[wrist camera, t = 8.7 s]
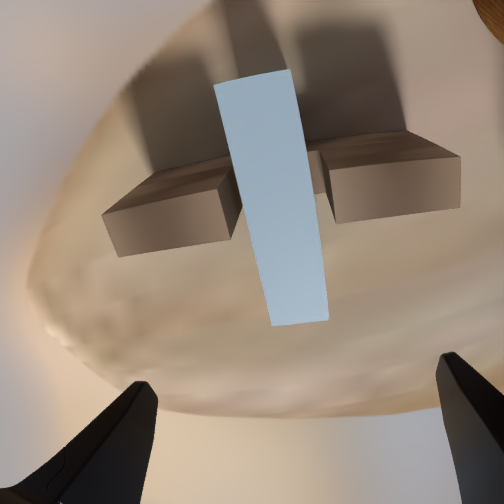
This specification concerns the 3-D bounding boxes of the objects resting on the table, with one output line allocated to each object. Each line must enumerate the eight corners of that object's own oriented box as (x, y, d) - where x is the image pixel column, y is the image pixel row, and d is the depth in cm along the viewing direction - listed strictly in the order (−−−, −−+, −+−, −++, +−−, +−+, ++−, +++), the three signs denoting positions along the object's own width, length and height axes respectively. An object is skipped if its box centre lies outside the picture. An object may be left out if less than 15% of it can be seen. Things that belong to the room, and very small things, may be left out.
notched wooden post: (407, 130, 15) (460, 156, 9) (409, 166, 16) (459, 207, 10) (154, 173, 17) (101, 215, 12) (164, 205, 18) (118, 257, 13)
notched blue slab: (288, 75, 14) (290, 68, 9) (319, 251, 19) (329, 319, 13) (239, 84, 15) (213, 84, 9) (277, 257, 19) (272, 326, 14)
